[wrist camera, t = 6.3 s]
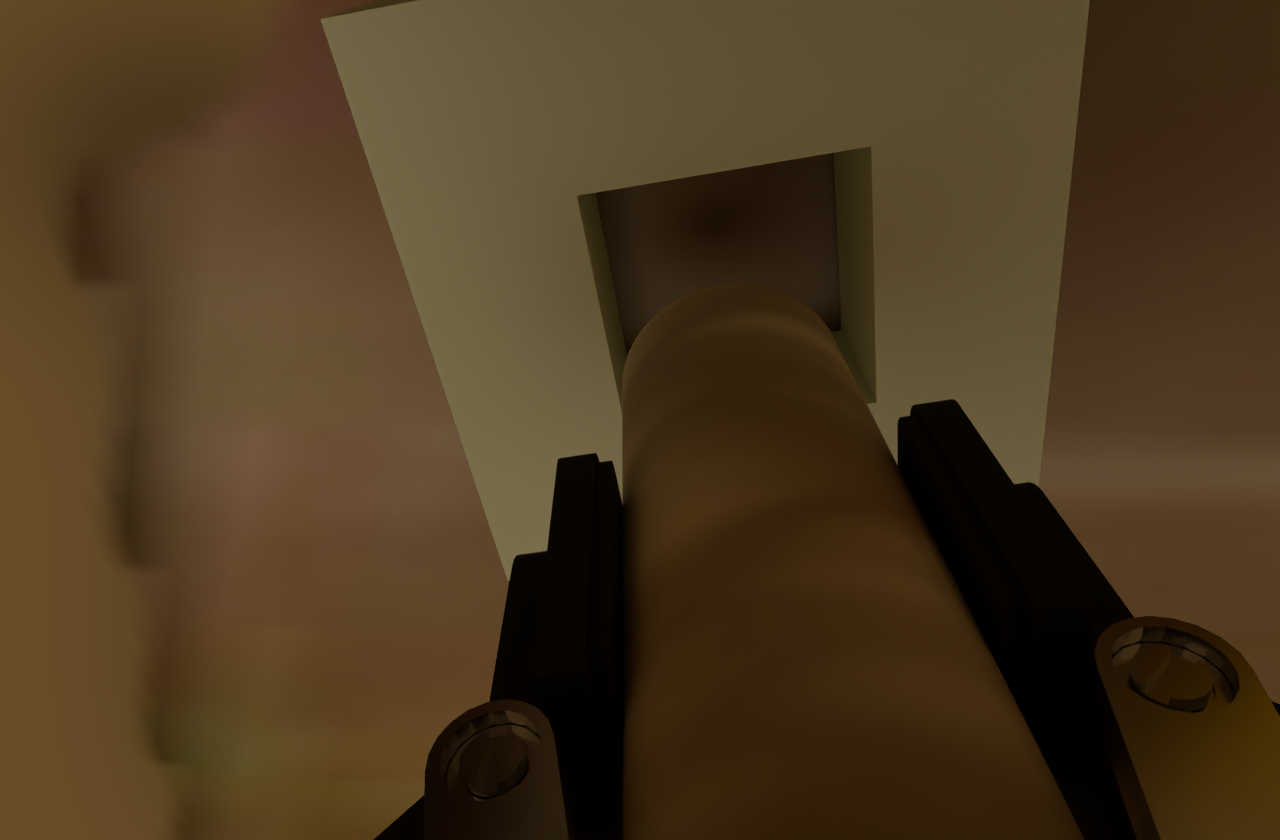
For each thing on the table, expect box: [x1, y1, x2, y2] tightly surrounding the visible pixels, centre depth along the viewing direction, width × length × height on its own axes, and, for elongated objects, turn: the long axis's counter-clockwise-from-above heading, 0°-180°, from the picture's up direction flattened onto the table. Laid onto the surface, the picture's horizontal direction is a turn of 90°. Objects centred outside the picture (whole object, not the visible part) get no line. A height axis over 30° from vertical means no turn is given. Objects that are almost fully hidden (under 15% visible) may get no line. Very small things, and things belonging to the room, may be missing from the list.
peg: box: [622, 283, 1085, 840], centre depth 10 cm, size 4×4×12 cm
